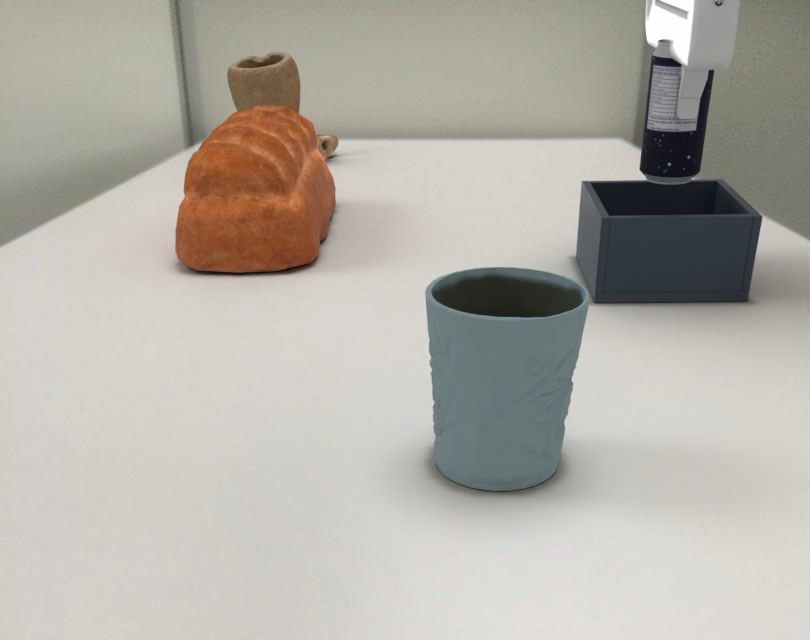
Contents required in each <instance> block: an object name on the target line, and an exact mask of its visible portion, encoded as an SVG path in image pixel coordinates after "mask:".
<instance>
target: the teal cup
mask: <svg viewBox="0 0 810 640" xmlns="http://www.w3.org/2000/svg"><path fill="white" fill-rule="evenodd" d="M424 294H425V295H424V296H425V309H426V323H427V324H426V325H427V333H428V340H429V341H428V353H429V355H430V360H429V366H430V368H431V371H430V377H431V385H432V386H431V387H432V388H431V389H432V390H431V393H432V395H431V396H432V401H433V402H434V403H433V405H432V410H433V411H432V413H433V414H432V423H433V433H434V435H435V436H434V442H433V448H434V459H435V463H436V466H437V469H438V470H439V471H440V473H441V474H442V475H443V476H445V477H446V478H447V479H449V480H451V481H452V482H453V483H456V484H458V485H460V486H461V485H462V486H465V487H468V488H471V489H475V490H476V489H477V490H482V491H492V492H508V491H509V492H510V491H511V492H512V491H518V490H524V489H528V488H532V487H535V486H537V485H539V484H541V483H544V482H545V481H548V480H549V479H550V478H552V476H554V474H555V473H556V472H557V469H558V468H559V465H560V460H561V456H562V449H563V443H564V437H565V434H566V433H565V432H566V425H565V421H566V419H567V417H568V416H569V408H570V405H571V398H572V393H573V391H574V382H573V380H572V379H573V376H574V374H575V373H574V370H576V368H577V363H578V359H579V356H580V350H581V346H582V341H583V335H584V330H585V327H586V321H587V316H588V311H589V306H590V302H591V298H590V297H591V296H590V295H589V290H588V289H586V287H585V286H584V285H583V284H581V283H580V282H578V281H576V280H575V279H573V278H571V277H567V276H566V275H565V276H564V275H561V274H557V273H554V272H550V271H545V270H540V269H539V270H538V269H533V268H527V267H525V268H524V267H515V266H514V267H513V266H512V267H510V266H490V267H489V266H488V267H487V266H486V267H473V268H467V269H462V270H458V271H457V270H456V271H453V272H451V273H446V274H444V275H441V276H439V277H437V278H436V279H433V280H432V281H431V282H430V283H429V284H428V285H427V286H426V288H425V292H424Z"/></svg>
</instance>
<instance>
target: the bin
mask: <svg viewBox="0 0 810 640" xmlns="http://www.w3.org/2000/svg"><path fill="white" fill-rule="evenodd" d="M762 223H763V215H762V214H761V213H760V212H759V211H758V210H756V209H755V208H754V207H753V206H752V205H751V204H750V203H749V202H748V201H747V200H746V199H745V198H743V196H741V194H739V193H738V192H737V190H735V189H734V188H733V187H732V185H730V184H729V183H728V182H727V181H726V180H724V179H723V178H716V179H715V178H714V179H711V178H710V179H709V178H708V179H707V178H705V179H704V178H703V179H701V178H700V179H697V178H696V179H691V181H690V182H688V183H685V184H679V185H664V184H656V183H652V182H649V181H647V180H646V179H636V180H635V179H634V180H632V179H631V180H627V179H626V180H582V181H581V186H580V197H579V212H578V224H577V236H576V250H575V251H576V252H575V259H576V261H577V264H578V266H579V268H580V270H581V274H582V276H583V278H584V281H585V283H586V286H587V288H588V292H589V293H590V295H591V296H590V297H591V298H592V300H593V303H595V304H596V303H598V304H604V303H605V304H607V303H614V304H615V303H707V302H711V303H714V302H715V303H716V302H719V303H720V302H721V303H723V302H724V303H725V302H748V300H749V295H750V290H751V284H752V279H753V273H754V269H755V268H754V267H755V261H756V257H757V256H756V255H757V250H758V244H759V239H760V233H761V228H762Z"/></svg>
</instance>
